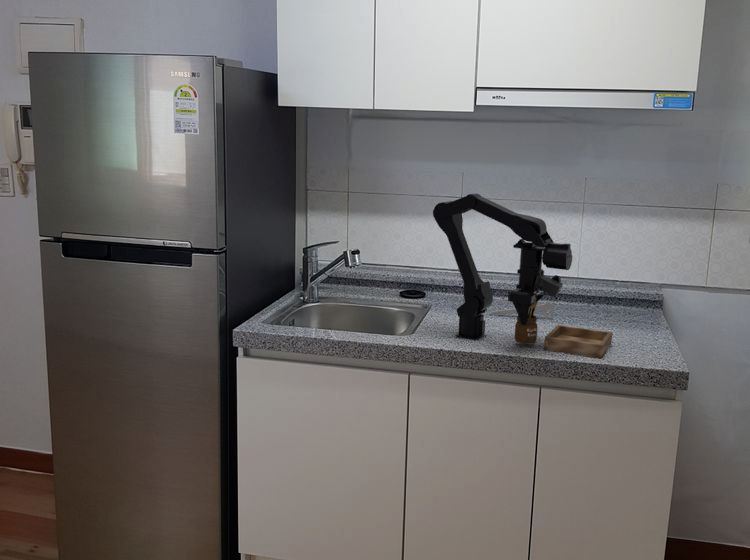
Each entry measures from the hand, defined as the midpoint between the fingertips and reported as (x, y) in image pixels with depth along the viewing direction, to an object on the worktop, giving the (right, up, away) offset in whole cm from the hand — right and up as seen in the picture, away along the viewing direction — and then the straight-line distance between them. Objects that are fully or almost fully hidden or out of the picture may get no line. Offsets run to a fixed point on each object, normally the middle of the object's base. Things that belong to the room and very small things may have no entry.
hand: (526, 322), depth 197 cm
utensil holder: (0, -5, +1) cm, 5 cm away
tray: (+14, -7, +1) cm, 16 cm away
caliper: (+5, -1, +33) cm, 33 cm away
